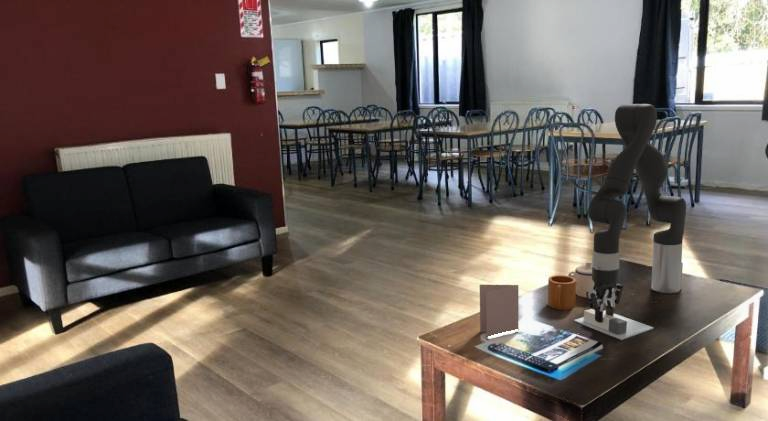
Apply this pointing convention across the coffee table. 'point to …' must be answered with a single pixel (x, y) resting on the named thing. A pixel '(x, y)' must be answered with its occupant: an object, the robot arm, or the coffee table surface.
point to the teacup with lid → (583, 279)
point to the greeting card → (498, 308)
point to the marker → (606, 322)
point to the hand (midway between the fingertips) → (604, 320)
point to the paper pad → (631, 330)
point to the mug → (561, 292)
